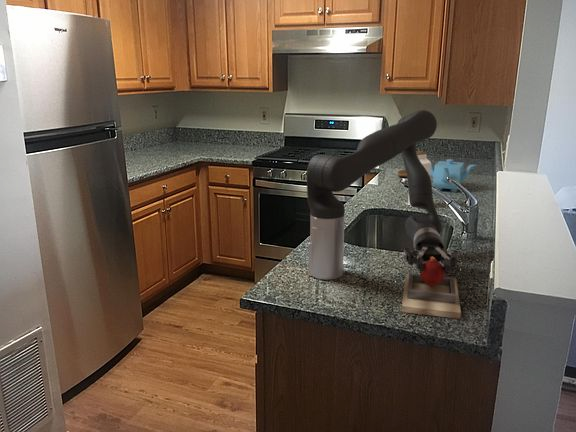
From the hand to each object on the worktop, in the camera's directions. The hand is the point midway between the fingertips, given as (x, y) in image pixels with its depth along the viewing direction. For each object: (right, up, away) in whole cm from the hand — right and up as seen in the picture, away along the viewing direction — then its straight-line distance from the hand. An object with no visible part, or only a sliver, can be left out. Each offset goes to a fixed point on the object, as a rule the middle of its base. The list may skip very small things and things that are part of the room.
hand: (434, 268), depth 115 cm
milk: (+20, +17, +89) cm, 93 cm away
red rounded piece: (+1, -5, +4) cm, 7 cm away
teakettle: (+43, +25, +119) cm, 129 cm away
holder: (0, -8, +5) cm, 9 cm away
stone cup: (+33, +34, +151) cm, 158 cm away
